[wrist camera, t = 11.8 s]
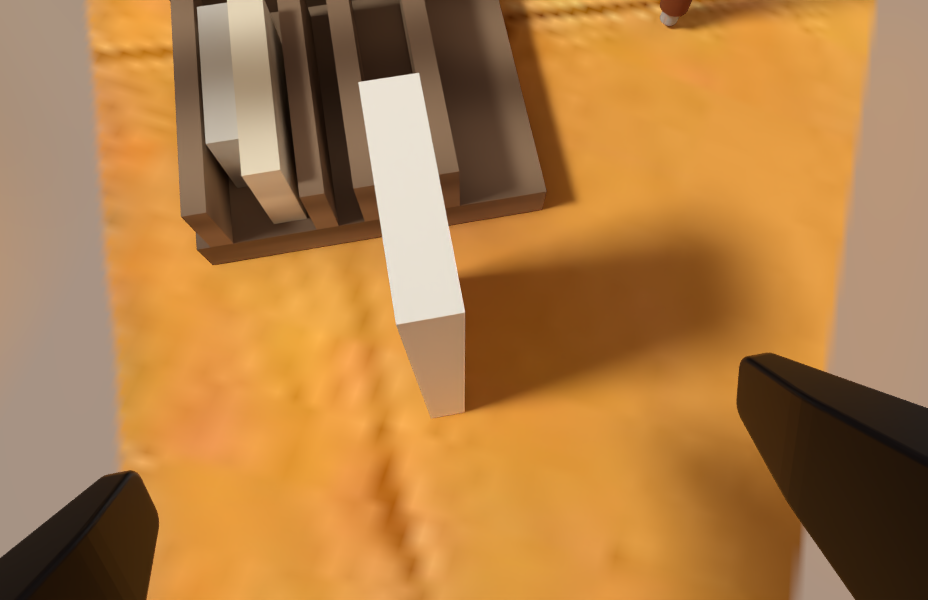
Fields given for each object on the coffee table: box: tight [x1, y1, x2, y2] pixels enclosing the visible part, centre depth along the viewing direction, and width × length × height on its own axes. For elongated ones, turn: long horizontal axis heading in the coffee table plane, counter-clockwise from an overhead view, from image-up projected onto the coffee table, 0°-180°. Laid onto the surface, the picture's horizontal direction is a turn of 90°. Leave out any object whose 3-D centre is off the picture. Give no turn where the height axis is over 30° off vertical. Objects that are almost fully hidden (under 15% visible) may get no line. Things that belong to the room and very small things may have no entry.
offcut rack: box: [170, 0, 547, 265], centre depth 23 cm, size 11×13×6 cm
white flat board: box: [358, 73, 465, 418], centre depth 17 cm, size 5×1×12 cm, turn 10°
